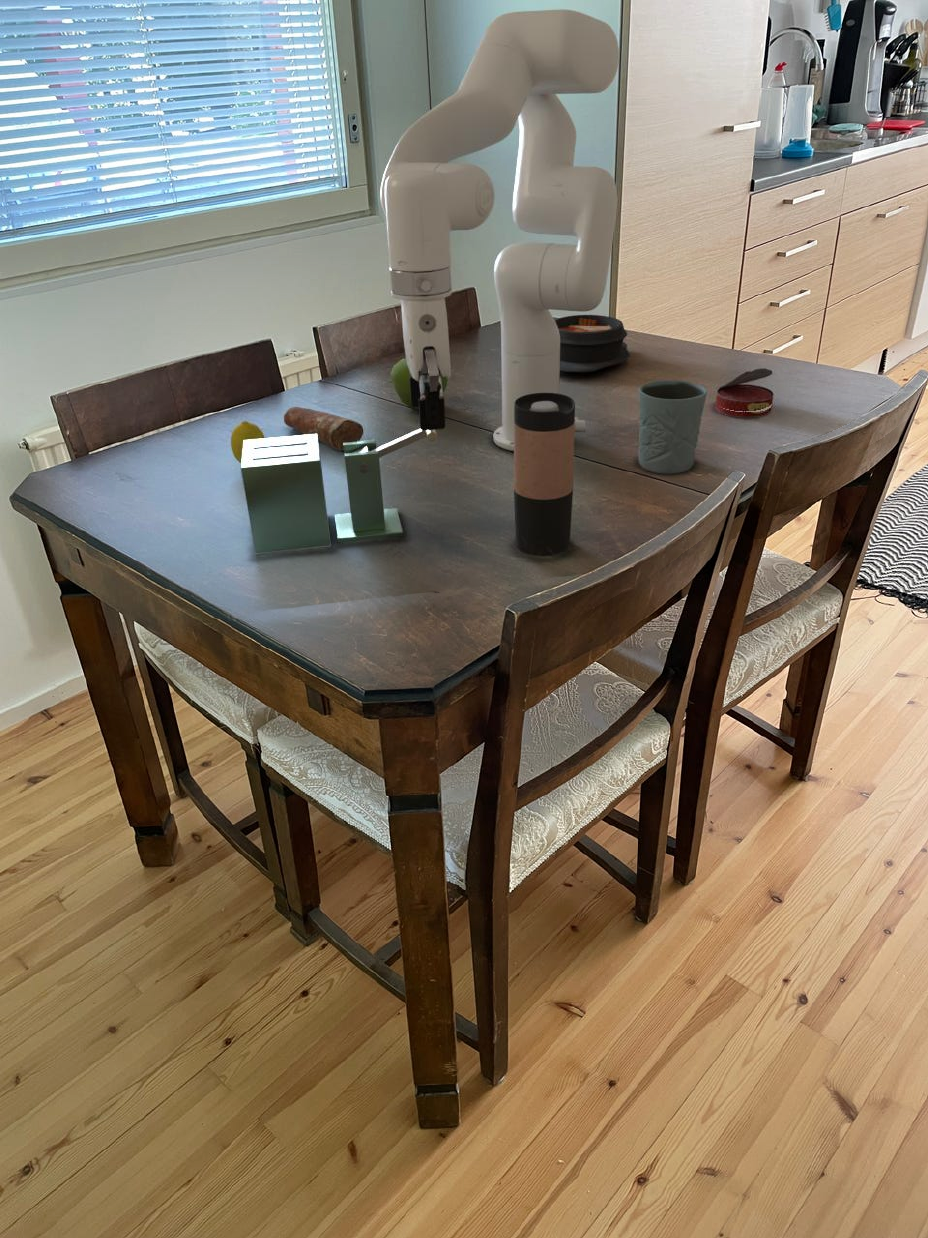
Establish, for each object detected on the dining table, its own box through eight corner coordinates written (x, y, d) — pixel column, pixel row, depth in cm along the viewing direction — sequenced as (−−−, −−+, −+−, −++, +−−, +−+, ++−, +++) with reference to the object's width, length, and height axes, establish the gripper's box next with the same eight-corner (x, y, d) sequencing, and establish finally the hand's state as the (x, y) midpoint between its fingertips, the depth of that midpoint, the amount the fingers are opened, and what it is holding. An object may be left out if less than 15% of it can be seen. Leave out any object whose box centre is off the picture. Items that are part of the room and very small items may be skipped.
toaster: (328, 519, 133) (317, 432, 127) (331, 550, 125) (320, 459, 118) (257, 526, 132) (242, 439, 125) (255, 558, 124) (240, 467, 117)
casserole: (565, 344, 208) (566, 305, 204) (645, 352, 201) (648, 312, 196) (520, 375, 189) (520, 333, 185) (606, 385, 182) (608, 342, 177)
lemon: (275, 463, 153) (268, 416, 148) (258, 476, 148) (250, 428, 144) (246, 460, 154) (238, 413, 150) (228, 472, 150) (220, 425, 146)
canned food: (723, 440, 167) (701, 392, 163) (727, 415, 175) (706, 370, 171) (785, 416, 161) (764, 367, 157) (786, 392, 169) (766, 344, 165)
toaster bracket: (397, 515, 134) (391, 434, 127) (403, 539, 127) (397, 455, 121) (335, 521, 133) (325, 440, 126) (338, 546, 126) (328, 461, 120)
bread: (336, 457, 154) (332, 425, 151) (279, 429, 167) (275, 399, 164) (367, 447, 157) (364, 416, 154) (309, 420, 170) (306, 391, 167)
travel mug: (510, 536, 127) (509, 393, 116) (565, 532, 127) (569, 390, 117) (518, 562, 120) (517, 414, 110) (576, 558, 121) (581, 410, 110)
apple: (432, 394, 181) (429, 343, 175) (460, 408, 173) (459, 355, 168) (383, 406, 176) (379, 353, 171) (410, 420, 168) (407, 366, 163)
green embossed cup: (628, 471, 145) (633, 396, 138) (640, 448, 153) (645, 376, 147) (693, 478, 142) (701, 401, 135) (703, 454, 150) (711, 381, 143)
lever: (434, 428, 127) (427, 413, 125) (440, 442, 122) (433, 426, 121) (354, 464, 127) (347, 449, 126) (357, 479, 123) (349, 464, 122)
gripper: (462, 294, 107) (466, 436, 116) (440, 267, 122) (445, 395, 130) (398, 298, 106) (407, 441, 115) (384, 271, 121) (393, 399, 129)
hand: (427, 416), depth 123 cm, fingers open, 9 cm apart
